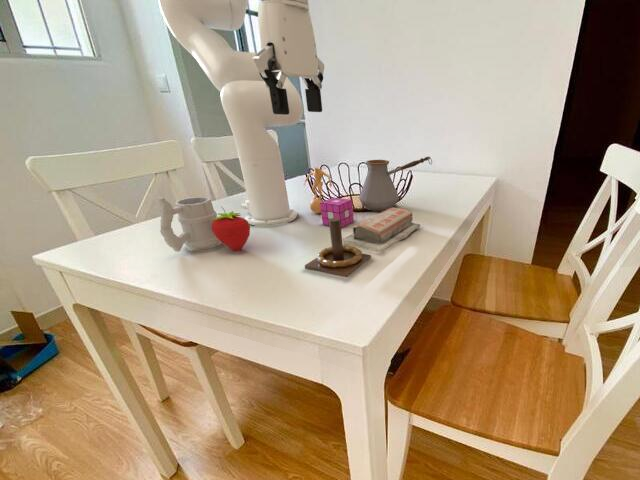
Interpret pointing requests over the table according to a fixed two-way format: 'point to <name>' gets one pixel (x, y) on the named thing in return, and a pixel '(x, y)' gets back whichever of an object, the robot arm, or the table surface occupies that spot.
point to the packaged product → (382, 230)
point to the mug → (189, 223)
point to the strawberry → (231, 230)
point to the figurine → (318, 176)
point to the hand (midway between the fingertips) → (299, 112)
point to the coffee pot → (382, 185)
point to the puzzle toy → (337, 211)
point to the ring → (339, 263)
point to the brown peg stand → (337, 254)
